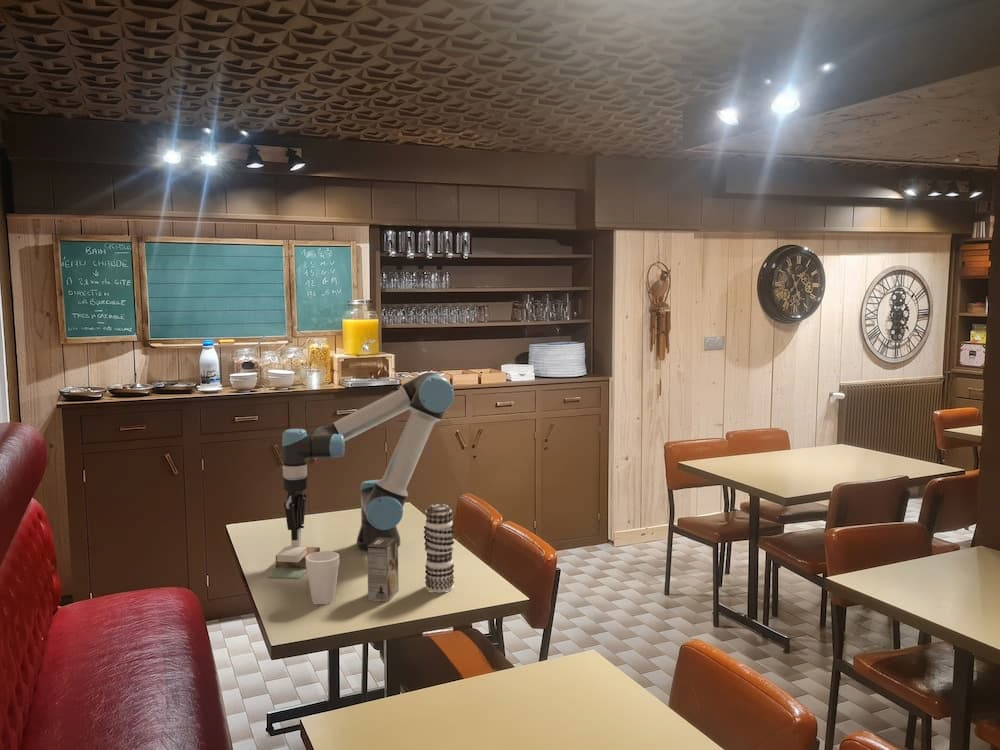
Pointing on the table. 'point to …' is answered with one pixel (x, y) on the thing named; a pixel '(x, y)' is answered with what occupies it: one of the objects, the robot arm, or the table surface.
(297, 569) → the mat
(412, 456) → the robot arm
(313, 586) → the foam cup
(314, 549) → the brown flat block
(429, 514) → the decorative candle
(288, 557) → the tile
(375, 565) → the coffee box
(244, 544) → the table surface
